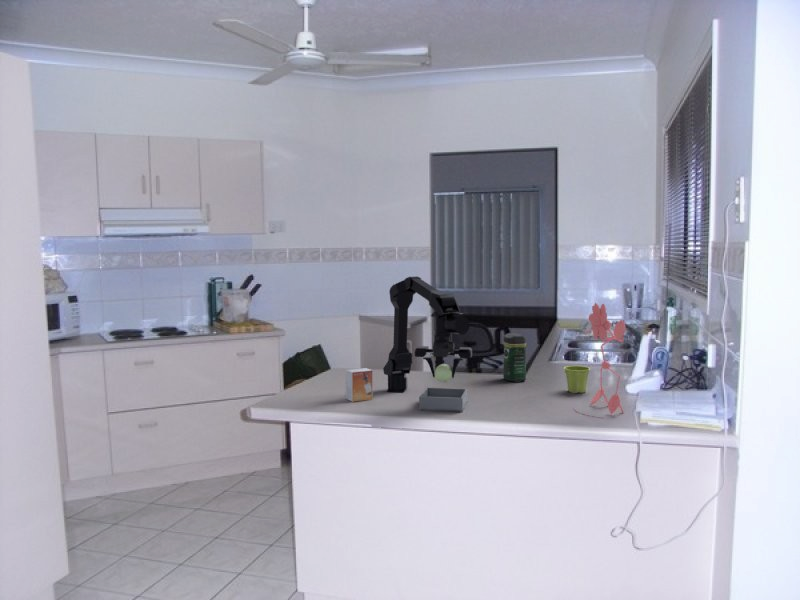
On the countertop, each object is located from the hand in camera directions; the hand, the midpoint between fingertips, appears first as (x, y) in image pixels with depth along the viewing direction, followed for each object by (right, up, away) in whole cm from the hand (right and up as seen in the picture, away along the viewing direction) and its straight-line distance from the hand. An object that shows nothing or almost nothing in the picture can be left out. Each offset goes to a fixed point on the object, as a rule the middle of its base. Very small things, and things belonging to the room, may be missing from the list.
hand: (443, 377), depth 224 cm
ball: (0, -1, 0) cm, 1 cm away
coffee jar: (+31, -6, +42) cm, 52 cm away
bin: (0, -10, +1) cm, 10 cm away
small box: (-29, -9, +12) cm, 32 cm away
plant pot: (+50, -8, +20) cm, 54 cm away
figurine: (+49, -10, -7) cm, 51 cm away
